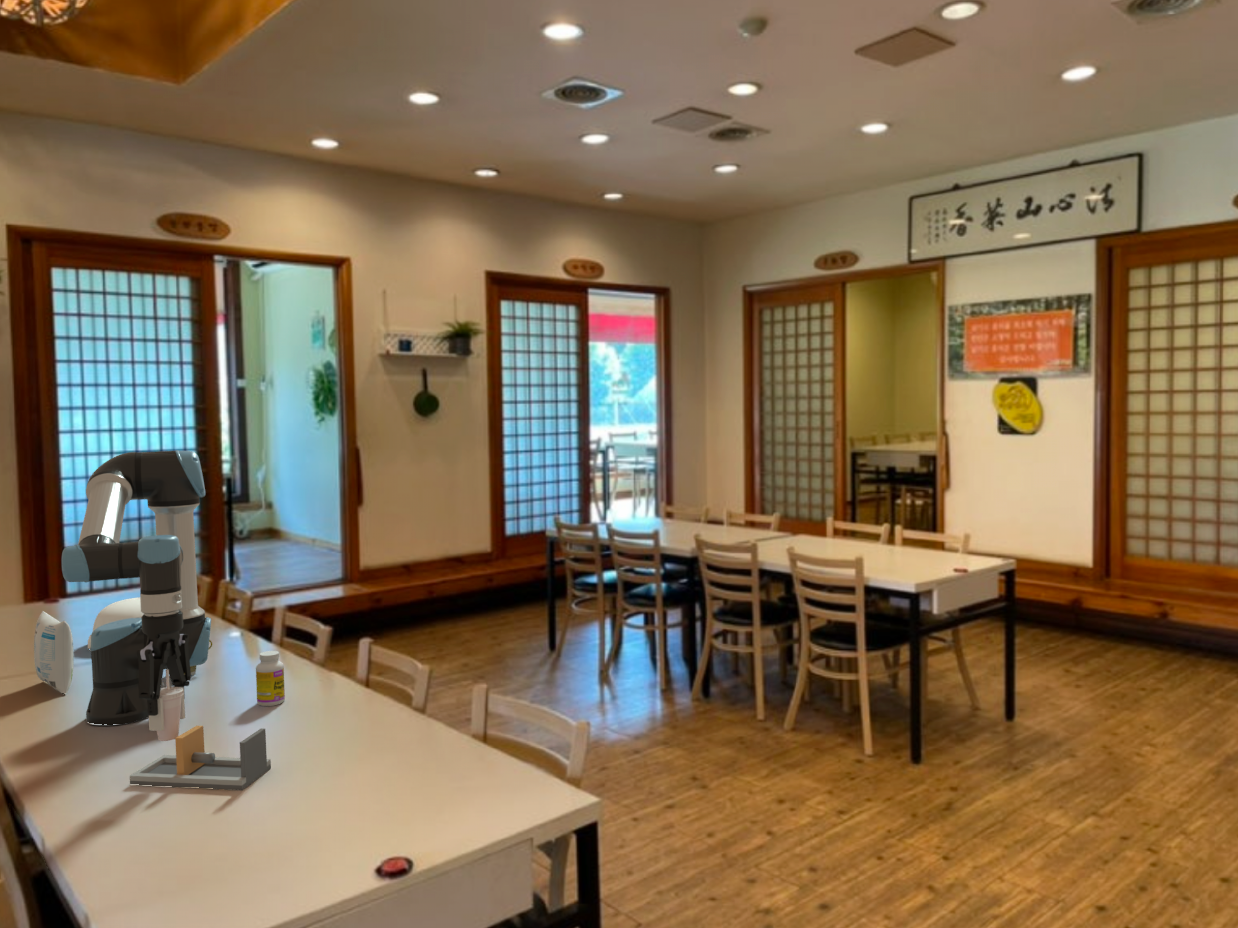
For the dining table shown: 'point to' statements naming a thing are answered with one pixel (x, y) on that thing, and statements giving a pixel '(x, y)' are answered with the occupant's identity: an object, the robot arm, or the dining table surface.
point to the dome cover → (118, 613)
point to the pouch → (54, 652)
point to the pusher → (191, 751)
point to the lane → (211, 769)
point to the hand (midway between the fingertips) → (167, 723)
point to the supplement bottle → (270, 679)
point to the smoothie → (170, 710)
